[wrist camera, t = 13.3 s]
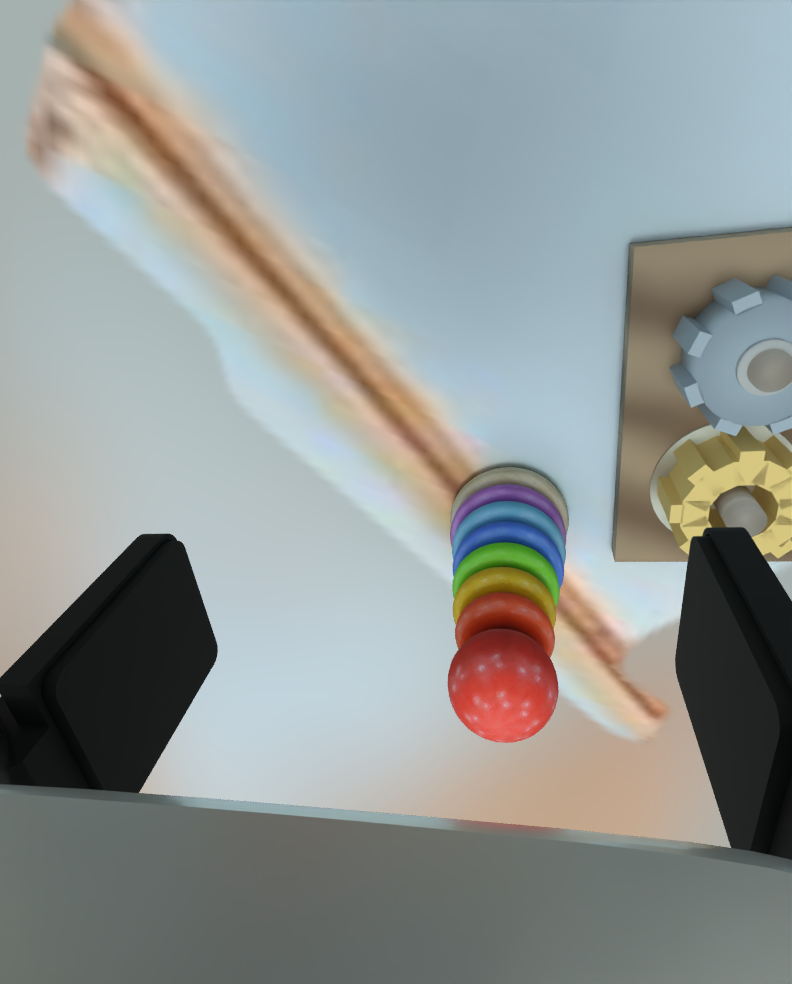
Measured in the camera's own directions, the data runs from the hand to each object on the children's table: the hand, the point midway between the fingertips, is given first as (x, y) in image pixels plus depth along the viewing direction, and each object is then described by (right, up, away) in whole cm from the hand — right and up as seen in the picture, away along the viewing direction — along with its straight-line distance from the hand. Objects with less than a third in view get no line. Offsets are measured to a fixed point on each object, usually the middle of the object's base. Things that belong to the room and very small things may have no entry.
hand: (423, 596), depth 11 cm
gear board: (+19, +7, +25) cm, 33 cm away
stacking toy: (+7, 0, +31) cm, 32 cm away
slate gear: (+19, +10, +22) cm, 30 cm away
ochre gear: (+20, +2, +26) cm, 32 cm away
